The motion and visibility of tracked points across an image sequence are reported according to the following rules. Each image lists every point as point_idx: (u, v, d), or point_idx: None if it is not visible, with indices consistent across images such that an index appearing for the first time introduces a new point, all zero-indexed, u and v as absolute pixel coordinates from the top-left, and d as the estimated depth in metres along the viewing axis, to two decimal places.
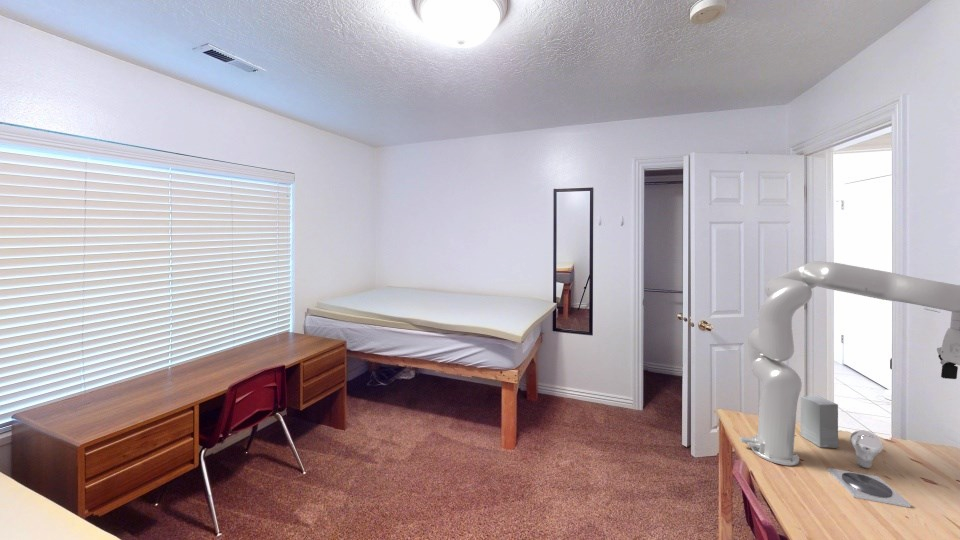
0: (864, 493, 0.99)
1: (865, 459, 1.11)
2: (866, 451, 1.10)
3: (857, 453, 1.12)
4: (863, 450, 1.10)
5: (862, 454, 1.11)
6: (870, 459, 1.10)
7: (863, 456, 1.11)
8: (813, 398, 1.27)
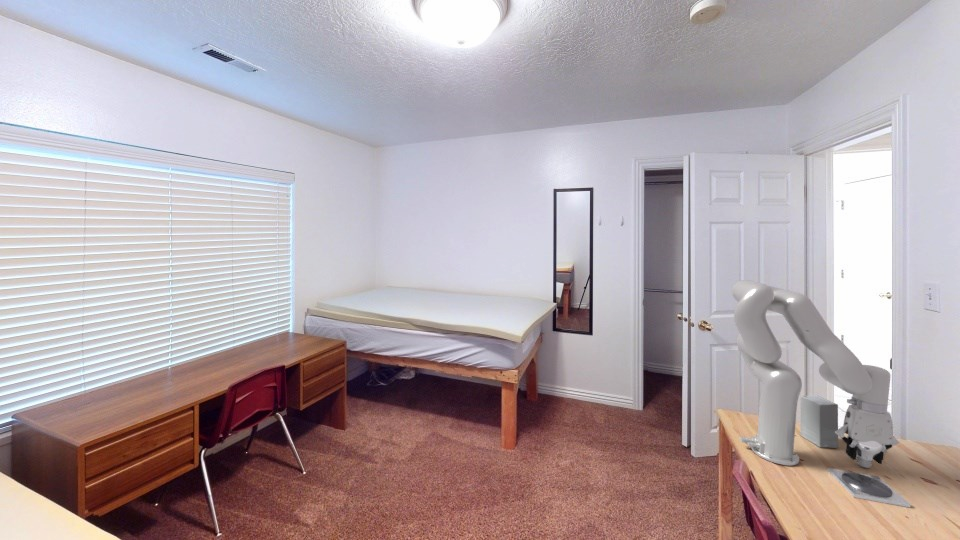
0: (864, 493, 0.99)
1: (865, 459, 1.11)
2: (866, 451, 1.10)
3: (857, 453, 1.12)
4: (863, 450, 1.10)
5: (862, 454, 1.11)
6: (870, 459, 1.10)
7: (863, 456, 1.11)
8: (813, 398, 1.27)
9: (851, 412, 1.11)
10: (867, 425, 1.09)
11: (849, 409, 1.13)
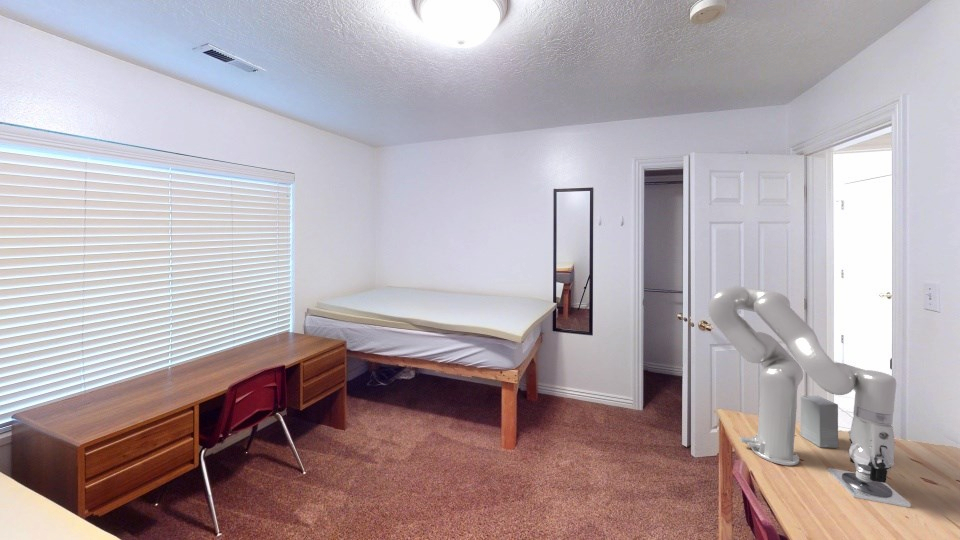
0: (864, 493, 0.99)
1: None
2: None
3: None
4: None
5: None
6: None
7: None
8: (813, 398, 1.27)
9: (888, 432, 0.97)
10: None
11: (882, 429, 0.97)
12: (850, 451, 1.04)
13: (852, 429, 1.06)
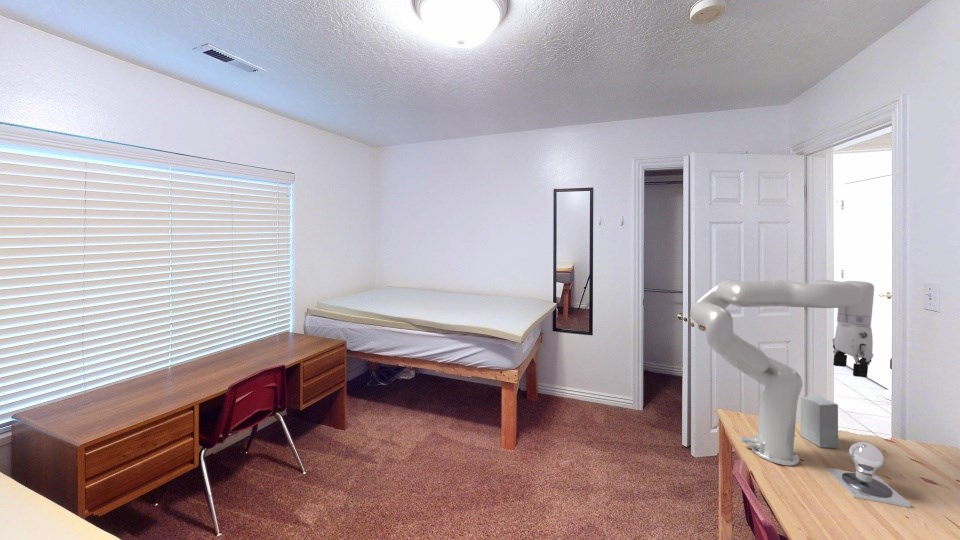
0: (864, 493, 0.99)
1: None
2: None
3: (871, 472, 1.01)
4: (880, 466, 1.00)
5: (875, 469, 1.01)
6: None
7: (874, 471, 1.02)
8: (813, 398, 1.27)
9: (867, 331, 1.08)
10: None
11: (862, 329, 1.09)
12: (850, 451, 1.04)
13: (835, 337, 1.17)
